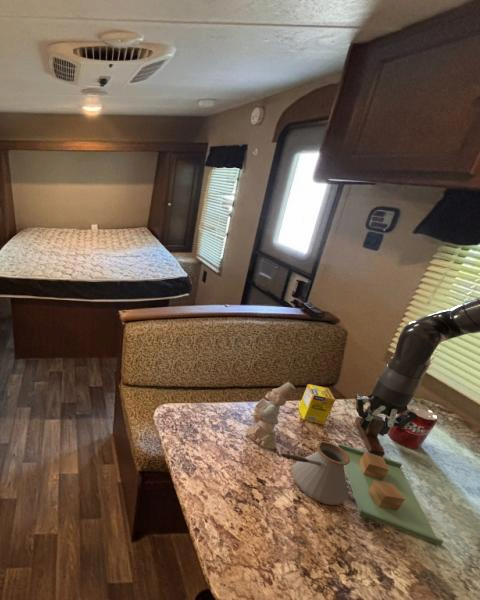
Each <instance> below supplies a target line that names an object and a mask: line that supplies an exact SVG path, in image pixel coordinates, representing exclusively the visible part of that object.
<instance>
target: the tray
mask: <svg viewBox="0 0 480 600" xmlns="http://www.w3.org/2000/svg"><path fill="white" fill-rule="evenodd" d="M337 446H338V447H340V448H341V449H343V450H344V451H345V452H346V453H347V454H348V456H349V458H350V463H349V464H347V465H344V471H345V474H346V476H347V480H348V482H349V485H350V488H351V491H352V493H353V494H352V495H353V497H354V500H355V503H356V507H357V509H358V512H359V515H360V516H361V517H363V518H367V519H369V520H371V521H374V522H376V523H379V524H382V525H384V526H387V527H390V528H393V529H395V530H398V531H400V532H403V533H406V534H409V535H411V536H413V537H416V538H418V539H421V540H424V541H427V542H429V543H432V544H434V545H438V546H442V545H443V544H444V541H443V539H441V538H439V537H437V536H436V534H435V531H434V530H433V527H432V526H431V524H430V522H429V520H428V519H427V517H426V514H425V512H424V510H423V509H422V507H421V505H420V503H419V501H418V499H417V497H416V496H415V494H414V490H413V489H412V488H411V486H410V484H409V481H408V480H407V478H406V476H405V474H404V472H403V470H402V466H403V464H402V462H400V461H397V460H393V459H390V458H386V457H384V456H383V457H381V458H383V459H384V461H385V463H386V465H387V467H388V469H389V471H388V472H387V474H386V475H385V477H384V479H383V480H379V479H376V478H373V477H370V476H367V475H364V474H363V472H362V469H361V467H360V464H359V461H360V460H361V458H362V456H363V454H364V452H366V453H368V451H364V450H361V449H358V448H355V447H352V446H348V445H345V444H343V443H338V445H337ZM369 454H371V453H369ZM372 455H374V454H372ZM375 456H377V455H375ZM378 457H380V456H378ZM374 481H380V482H385V483H391V484H393V485H394V486H395V487H396V488H397V490H398V491H399V492H400V494H401V495H402V496H403V498H404V499H405V500H404V502H403V503H402V505H401V506H400V507H399V509H398V510H393V509H387V508H382V507H378V505H377V504H376V502H375V501H374V499H373V498H372V496H371V495H370V494H369V492H368V491H369V489H370V487H371V486H372V484H373V482H374Z"/></svg>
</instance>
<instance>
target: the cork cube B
mask: <svg viewBox="0 0 480 600" xmlns="http://www.w3.org/2000/svg"><path fill="white" fill-rule="evenodd" d="M368 492H369V494H370V495H371V496H372V498H373V499H374V501H375V502H376V504H377V505H378V507H382V508H387V509H393V510H398V509H399V507H400V506H401V505H402V503H403V502H404V500H405V499H404V498H403V496H402V495H401V494H400V492H399V491H398V490H397V488H396V487H395V486H394V485H393V484H391V483H385V482H380V481H374V482H373V484H372V486H371V487H370V489H369V491H368Z"/></svg>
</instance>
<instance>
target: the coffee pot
mask: <svg viewBox="0 0 480 600" xmlns="http://www.w3.org/2000/svg"><path fill="white" fill-rule="evenodd" d="M316 450H317V451H315V452H313V453H312V454H310V455H308V456H305V457H303V456H300V455H296V454H290V453H288V452H287V453H284V452H282V453H281V452H279V451H276V452H275V453H274V457H275V460H276V461H278V463H283V462H285V459H287V460H292V461H293V462H295V463H294V464H292V465H293V466H292V467H291V472H292V476H293V477H292V478H293V480H294V483H296V485H297V486H298V487H299V489H300V490H301V491H302V492H303V493H304V494H306V496H308V497H309V498H311V499H312V500H315V501H316V502H319V503H321V504H325V505H330V506H338V505H341V504H344V503H345V502H346V500H348V495H349V492H348V487H347V486H348V485H347V480H346V471H345V467H344V465H347V464H349V463H350V458H349V456H348V454H347V453H346V452H345V451H344V450H343V449H341V448H340V447H338V445H337V444H334V443H331V442H328V441H324V440H320V441H318V442H317V444H316ZM278 453H279V455H280V457H282V461H280V460H279V459H278V458H277V454H278Z"/></svg>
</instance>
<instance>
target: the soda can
mask: <svg viewBox="0 0 480 600" xmlns="http://www.w3.org/2000/svg"><path fill="white" fill-rule="evenodd" d="M407 408H409V409H413V410H414V411H415V413H416V414H417V416H418V417H417V418H416V419H414V420H413V421H411V422H409V423H408V424H406V425H405V426H403V427H402V428H398V427H397V426H393V427H391V428H390V430H389V431H388V433H387V436H388V437H389V438H390V439H391V440H392V441H393V442H394V443H396V444H398V445H400V446H401V447H404V448H407V449H408V450H409V449H410V450H414V451H415V450H416V451H417V450H419V449H421V447H422V445H423V444H424V442H425V441H426V439H427V438H428V436H430V433H431V432H432V431H433V429H434V427H435V426H436V424H437V422H438V416H437V415H436V414H435V413H434V412H433V411H432V410H430V409H429V408H427V407H424V406H422V405H419V404H416V403H411V402H410V403H409V404H408V405H407ZM401 414H403V412H402V413H399V414H397V415H396V418H397V417H398V416H400V415H401Z"/></svg>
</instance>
